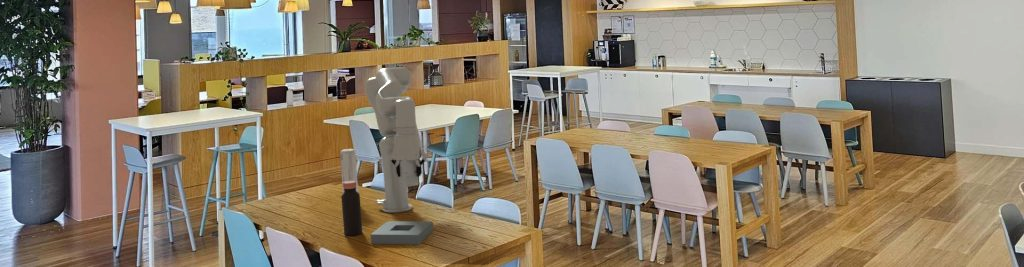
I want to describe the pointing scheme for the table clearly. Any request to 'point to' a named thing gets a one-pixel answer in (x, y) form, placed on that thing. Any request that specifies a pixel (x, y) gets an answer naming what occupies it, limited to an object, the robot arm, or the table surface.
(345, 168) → the air filter
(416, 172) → the robot arm
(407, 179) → the skincare box
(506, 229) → the table surface
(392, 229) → the socket block
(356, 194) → the bottle
